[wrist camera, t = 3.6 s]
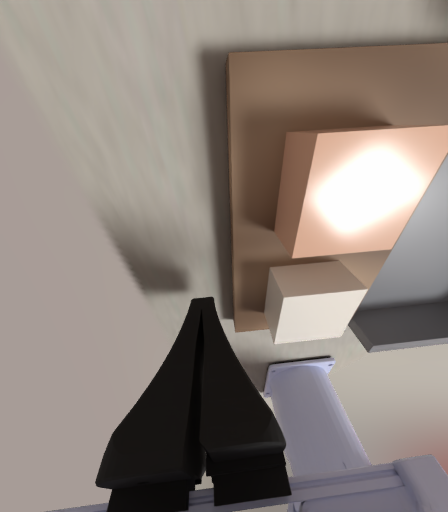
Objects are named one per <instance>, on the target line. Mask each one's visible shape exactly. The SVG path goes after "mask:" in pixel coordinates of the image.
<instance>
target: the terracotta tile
mask: <svg viewBox="0 0 448 512" xmlns="http://www.w3.org/2000/svg"><path fill="white" fill-rule="evenodd" d="M447 153H448V124H443V125H389V126H373V127H357V128H341V129H326V130H310V131H294V132H286V140H285V148H284V156H283V164H282V172H281V180H280V188H279V197H278V205H277V213H276V221H275V229H274V232H275V234H276V235H277V237H278V238H279V240H280V241H281V243H282V244H283V246H284V247H285V249H286V250H287V252H288V253H289V255H290V256H291V258H303V257H314V256H325V255H336V254H346V253H357V252H368V251H379V250H390V249H392V247H393V246H394V244H395V242H396V241H397V239H398V237H399V235H400V234H401V232H402V230H403V228H404V227H405V225H406V223H407V222H408V220H409V218H410V216H411V215H412V213H413V211H414V210H415V208H416V206H417V204H418V203H419V201H420V199H421V197H422V196H423V194H424V192H425V191H426V189H427V187H428V185H429V184H430V182H431V180H432V179H433V177H434V175H435V173H436V172H437V170H438V168H439V166H440V165H441V163H442V161H443V160H444V158H445V156H446V154H447Z"/></svg>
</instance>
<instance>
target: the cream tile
mask: <svg viewBox="0 0 448 512" xmlns="http://www.w3.org/2000/svg"><path fill="white" fill-rule="evenodd" d="M367 290H368V288H367V287H365V286H364V285H363V284H362V283H361V282H360V281H359V280H358V279H357V278H356V277H355V276H354V275H353V274H352V273H351V272H350V271H349V270H348V269H347V268H346V267H345V266H344V265H343V264H342V263H341V262H340V261H332V262H321V263H310V264H299V265H289V266H278V267H270V269H269V277H268V285H267V293H266V302H265V310H264V314H265V317H266V320H267V323H268V327H269V330H270V333H271V336H272V339H273V342H274V344H281V343H290V342H299V341H308V340H317V339H326V338H335V337H341V335H342V334H343V332H344V330H345V328H346V327H347V325H348V323H349V321H350V320H351V318H352V316H353V315H354V313H355V311H356V309H357V308H358V306H359V304H360V303H361V301H362V299H363V297H364V296H365V294H366V292H367Z"/></svg>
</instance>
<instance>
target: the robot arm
mask: <svg viewBox="0 0 448 512" xmlns="http://www.w3.org/2000/svg"><path fill="white" fill-rule="evenodd" d="M335 362H336V361H335V359H334V358H324V359H315V360H306V361H298V362H289V363H281V364H272V365H270V366H269V368H268V373H267V378H266V383H265V388H264V393H263V394H264V397H271V399H272V403H273V407H274V411H275V415H276V418H275V416H274V414H273V412H272V410H271V409H270V408H269V406H268V405H267V404H266V402H265V401H264V399H263V398H262V396H261V395H260V394H259V392H258V391H257V389H256V388H255V386H254V385H253V383H252V382H251V380H250V379H249V377H248V375H247V374H246V372H245V371H244V369H243V367H242V366H241V364H240V362H239V360H238V359H237V357H236V355H235V353H234V351H233V350H232V348H231V346H230V344H229V342H228V340H227V337H226V335H225V333H224V331H223V328H222V326H221V323H220V321H219V318H218V315H217V312H216V308H215V303H214V298H213V297H206V298H196V299H192V300H191V304H190V307H189V310H188V313H187V315H186V318H185V321H184V323H183V325H182V328H181V330H180V332H179V334H178V336H177V338H176V340H175V342H174V344H173V346H172V348H171V350H170V352H169V354H168V355H167V357H166V359H165V361H164V362H163V364H162V366H161V367H160V369H159V371H158V372H157V374H156V375H155V377H154V378H153V380H152V381H151V383H150V384H149V386H148V387H147V388H146V390H145V391H144V393H143V394H142V395H141V397H140V399H139V400H138V401H137V403H136V404H135V405H134V407H133V408H132V409H131V410H130V412H129V413H128V414H127V415H126V417H125V418H124V419H123V421H122V422H121V423H120V424H119V426H118V427H117V428H116V429H115V431H114V432H113V434H112V436H111V438H110V441H109V443H108V446H107V448H106V451H105V453H104V456H103V459H102V462H101V465H100V468H99V472H98V475H97V478H96V482H95V483H96V486H97V487H101V488H107V489H112V492H111V496H110V500H109V503H103V504H96V505H89V506H82V507H75V508H68V509H60V510H54V511H46V512H232V511H240V510H247V509H254V508H260V507H266V506H273V505H281V504H287V503H288V509H287V512H448V475H447V474H446V473H445V471H444V470H443V468H442V467H441V466H440V464H439V463H438V461H437V460H436V458H435V457H434V456H432V455H423V456H415V457H409V458H403V459H399V460H395V461H393V463H386V464H378V465H372V464H371V462H370V460H369V458H368V456H367V454H366V453H365V450H364V448H363V446H362V444H361V442H360V440H359V438H358V436H357V434H356V432H355V430H354V428H353V426H352V424H351V422H350V420H349V418H348V416H347V414H346V412H345V410H344V408H343V406H342V404H341V402H340V400H339V398H338V396H337V394H336V392H335V390H334V388H333V386H332V384H331V382H330V380H329V378H328V373H329V371H330V370H331V368H332V367H333V365H334V364H335ZM283 451H285V454H286V457H287V459H288V461H289V463H290V465H291V469H292V472H293V477H288V475H287V472H286V467H285V466H286V462H285V458H284V454H283ZM205 471H206V476H211V477H212V483H213V484H214V488H209V489H202V490H195V485H197V484H201V481H202V480H201V479H202V476H203V474H204V472H205Z"/></svg>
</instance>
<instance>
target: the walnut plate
mask: <svg viewBox="0 0 448 512" xmlns="http://www.w3.org/2000/svg"><path fill="white" fill-rule="evenodd" d="M226 92H227V124H228V156H229V188H230V220H231V252H232V284H233V316H234V326H235V333H236V332H245V331H254V330H264V329H269V327H268V323H267V320H266V317H265V314H264V310H265V302H266V293H267V285H268V277H269V269H270V267H278V266H289V265H299V264H310V263H321V262H332V261H340V262H341V263H342V264H343V265H344V266H345V267H346V268H347V269H348V270H349V271H350V272H351V273H352V274H353V275H354V276H355V277H356V278H357V279H358V280H359V281H360V282H361V283H362V284H363V285H364V286H365V287H367V288H368V290H369V289H370V287H371V285H372V283H373V282H374V280H375V278H376V277H377V275H378V273H379V272H380V270H381V268H382V266H383V265H384V263H385V261H386V260H387V258H388V256H389V254H390V253H391V251H392V249H393V248H394V246H395V244H396V242H397V241H398V239H399V237H400V236H401V234H402V232H403V230H404V229H405V227H406V225H407V224H408V222H409V220H410V218H411V217H412V215H413V213H414V212H415V210H416V208H417V207H418V205H419V203H420V201H421V200H422V198H423V196H424V195H425V193H426V191H427V189H428V188H429V186H430V184H431V183H432V181H433V179H434V177H435V176H436V174H437V172H438V171H439V169H440V167H441V165H442V164H443V162H444V160H445V159H446V157H447V155H448V153H447V154H446V156H445V158H444V160H443V161H442V163H441V165H440V166H439V168H438V170H437V172H436V173H435V175H434V177H433V179H432V180H431V182H430V184H429V185H428V187H427V189H426V191H425V192H424V194H423V196H422V197H421V199H420V201H419V203H418V204H417V206H416V208H415V210H414V211H413V213H412V215H411V216H410V218H409V220H408V222H407V223H406V225H405V227H404V228H403V230H402V232H401V234H400V235H399V237H398V239H397V241H396V242H395V244H394V246H393V247H392V249H390V250H379V251H368V252H357V253H346V254H336V255H325V256H314V257H303V258H291V256H290V255H289V253H288V252H287V250H286V249H285V247H284V246H283V244H282V243H281V241H280V240H279V238H278V237H277V235H276V234H275V232H274V229H275V221H276V213H277V205H278V197H279V188H280V180H281V172H282V164H283V156H284V148H285V140H286V132H294V131H310V130H326V129H341V128H357V127H373V126H389V125H443V124H448V43H434V44H411V45H389V46H366V47H344V48H321V49H299V50H276V51H254V52H231V53H229V54H228V57H227V60H226ZM368 290H367V292H368ZM367 292H366V294H367ZM366 294H365V295H366ZM364 297H365V296H364ZM364 297H363V299H364ZM363 299H362V301H363ZM362 301H361V302H362ZM360 304H361V303H360ZM360 304H359V306H360ZM359 306H358V307H359ZM357 309H358V308H357ZM357 309H356V311H357ZM356 311H355V313H356ZM355 313H354V314H355ZM353 316H354V315H353ZM353 316H352V318H353ZM352 318H351V319H352Z"/></svg>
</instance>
